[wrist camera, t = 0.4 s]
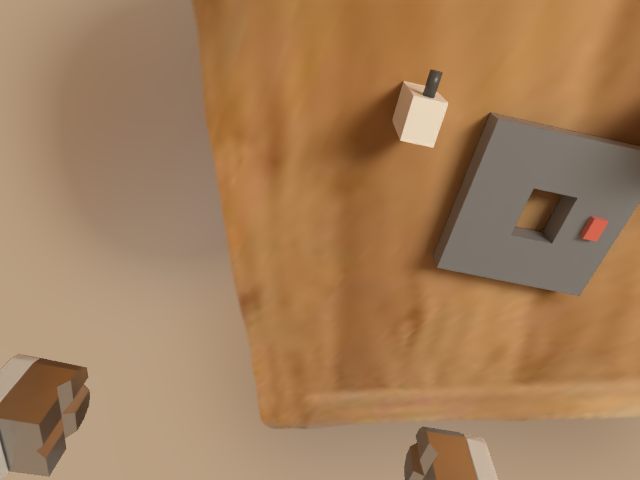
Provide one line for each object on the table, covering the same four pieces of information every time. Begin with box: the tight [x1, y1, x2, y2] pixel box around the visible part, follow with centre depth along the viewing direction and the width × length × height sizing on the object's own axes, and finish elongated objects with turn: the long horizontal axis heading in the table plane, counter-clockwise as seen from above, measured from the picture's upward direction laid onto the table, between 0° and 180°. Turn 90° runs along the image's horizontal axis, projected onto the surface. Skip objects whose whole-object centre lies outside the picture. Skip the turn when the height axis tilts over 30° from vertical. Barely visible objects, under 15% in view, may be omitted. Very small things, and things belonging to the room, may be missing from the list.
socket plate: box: [433, 113, 640, 296], centre depth 53 cm, size 20×20×4 cm
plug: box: [392, 70, 449, 148], centre depth 45 cm, size 7×4×8 cm, turn 168°
